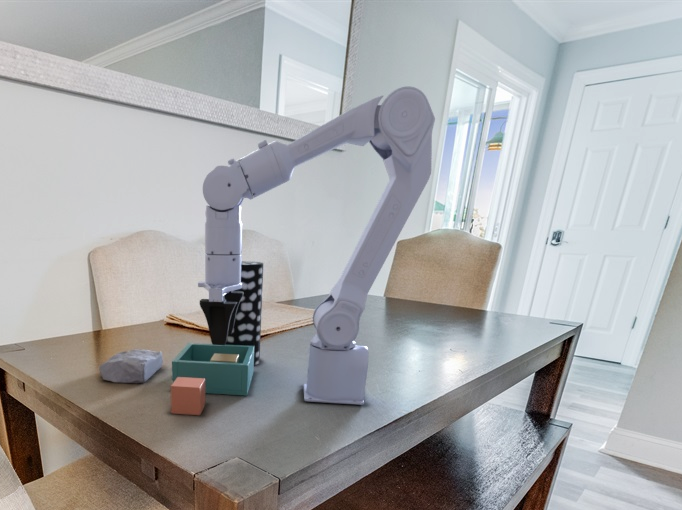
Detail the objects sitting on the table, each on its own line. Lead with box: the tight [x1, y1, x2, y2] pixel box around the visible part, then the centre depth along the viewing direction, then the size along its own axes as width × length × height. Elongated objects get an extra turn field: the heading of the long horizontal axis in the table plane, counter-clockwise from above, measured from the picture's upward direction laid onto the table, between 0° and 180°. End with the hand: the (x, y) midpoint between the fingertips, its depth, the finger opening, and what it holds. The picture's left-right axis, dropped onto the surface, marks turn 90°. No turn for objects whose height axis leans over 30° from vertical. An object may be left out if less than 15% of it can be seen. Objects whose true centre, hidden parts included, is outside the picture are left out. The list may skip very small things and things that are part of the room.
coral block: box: [170, 377, 206, 416], centre depth 72 cm, size 4×4×4 cm
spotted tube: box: [225, 260, 264, 366], centre depth 94 cm, size 8×8×20 cm
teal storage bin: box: [171, 342, 255, 397], centre depth 84 cm, size 13×13×5 cm
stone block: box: [98, 348, 164, 384], centre depth 89 cm, size 12×5×10 cm
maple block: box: [210, 353, 239, 363], centre depth 82 cm, size 4×4×4 cm
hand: (222, 339), depth 77 cm, fingers open, 7 cm apart
